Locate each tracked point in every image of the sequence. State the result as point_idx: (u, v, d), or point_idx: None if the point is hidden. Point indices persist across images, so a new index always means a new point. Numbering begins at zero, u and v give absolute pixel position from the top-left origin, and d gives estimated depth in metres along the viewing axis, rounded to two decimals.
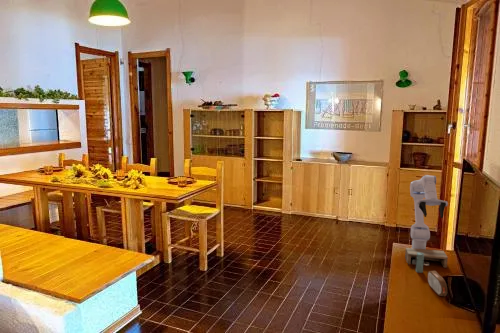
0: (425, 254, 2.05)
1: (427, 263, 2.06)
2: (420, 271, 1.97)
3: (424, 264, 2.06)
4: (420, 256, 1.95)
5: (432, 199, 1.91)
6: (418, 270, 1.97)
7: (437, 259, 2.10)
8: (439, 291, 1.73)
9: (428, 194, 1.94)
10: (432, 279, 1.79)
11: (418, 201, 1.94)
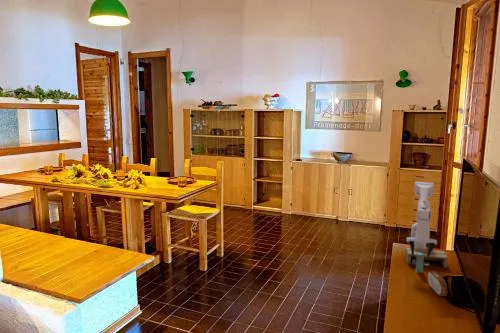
0: (425, 254, 2.05)
1: (427, 263, 2.06)
2: (420, 271, 1.97)
3: (424, 264, 2.06)
4: (420, 256, 1.95)
5: None
6: (418, 270, 1.97)
7: (437, 259, 2.10)
8: (439, 291, 1.73)
9: (419, 235, 1.93)
10: (432, 279, 1.79)
11: (408, 240, 1.96)
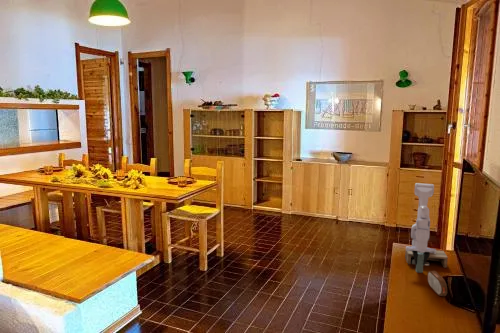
0: None
1: (427, 263, 2.06)
2: (420, 271, 1.97)
3: None
4: (420, 256, 1.95)
5: None
6: (418, 270, 1.97)
7: (437, 259, 2.10)
8: (439, 291, 1.73)
9: (418, 244, 1.94)
10: (432, 279, 1.79)
11: (407, 250, 1.97)
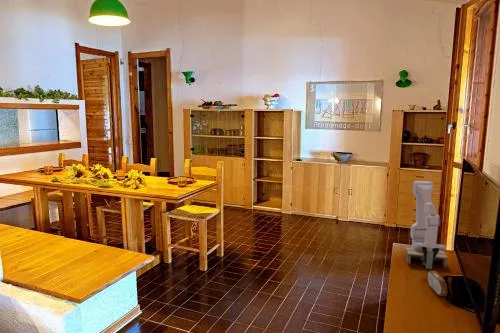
0: None
1: None
2: (429, 267, 2.00)
3: (424, 264, 2.06)
4: (429, 252, 1.98)
5: None
6: (427, 266, 2.00)
7: (437, 259, 2.10)
8: (439, 291, 1.73)
9: (428, 240, 1.97)
10: (432, 279, 1.79)
11: (416, 246, 2.00)
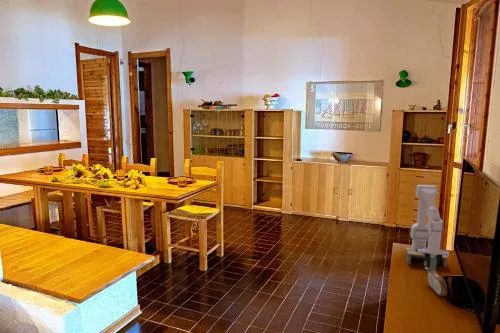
0: None
1: None
2: None
3: (426, 268, 2.00)
4: (433, 260, 1.91)
5: None
6: None
7: None
8: (439, 291, 1.73)
9: (431, 247, 1.90)
10: (432, 279, 1.79)
11: (419, 252, 1.93)
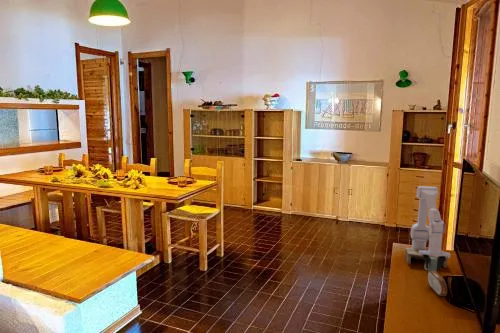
0: None
1: None
2: None
3: (426, 269, 2.00)
4: (433, 260, 1.90)
5: None
6: None
7: (437, 259, 2.10)
8: (439, 291, 1.73)
9: (432, 248, 1.88)
10: (432, 279, 1.79)
11: (420, 254, 1.91)
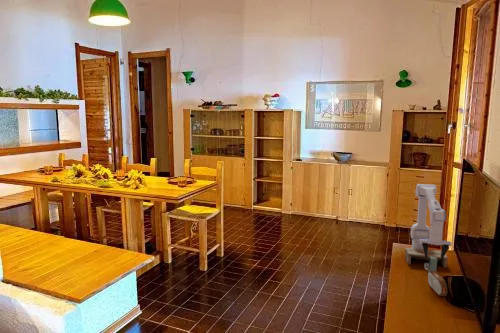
0: None
1: None
2: None
3: (426, 269, 2.00)
4: (433, 260, 1.90)
5: None
6: None
7: (437, 259, 2.10)
8: (439, 291, 1.73)
9: (433, 237, 1.87)
10: (432, 279, 1.79)
11: (421, 242, 1.90)
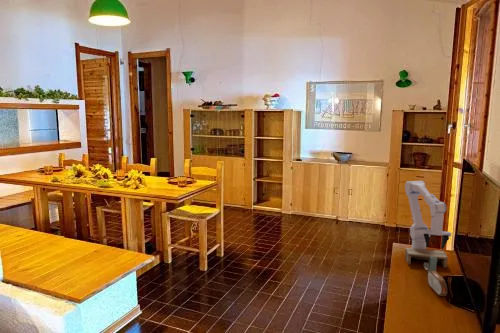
0: (425, 254, 2.05)
1: None
2: None
3: (426, 269, 2.00)
4: (433, 260, 1.91)
5: None
6: None
7: (437, 259, 2.10)
8: (439, 291, 1.73)
9: (434, 227, 2.00)
10: (432, 279, 1.79)
11: (423, 233, 2.03)
